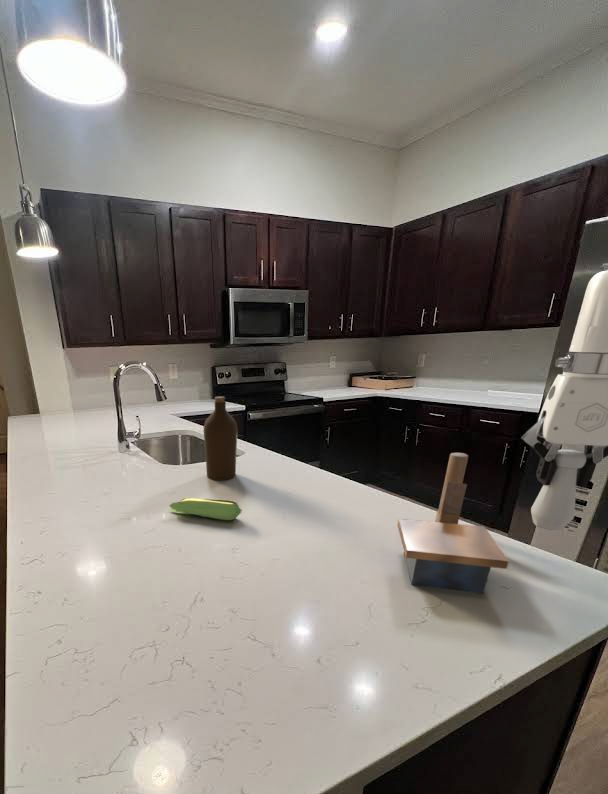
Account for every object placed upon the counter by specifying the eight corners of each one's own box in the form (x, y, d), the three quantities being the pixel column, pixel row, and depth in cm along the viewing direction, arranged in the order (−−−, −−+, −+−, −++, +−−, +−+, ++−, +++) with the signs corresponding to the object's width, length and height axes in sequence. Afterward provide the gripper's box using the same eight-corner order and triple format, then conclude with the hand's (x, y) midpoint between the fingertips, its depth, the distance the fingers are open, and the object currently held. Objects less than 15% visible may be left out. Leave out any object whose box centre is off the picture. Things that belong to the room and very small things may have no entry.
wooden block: (434, 542, 93) (451, 464, 85) (434, 523, 102) (449, 451, 94) (453, 545, 91) (471, 466, 84) (451, 525, 100) (468, 452, 93)
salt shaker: (548, 517, 74) (570, 445, 69) (578, 531, 69) (605, 454, 64) (519, 520, 73) (539, 447, 68) (547, 534, 68) (572, 457, 63)
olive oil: (212, 482, 130) (210, 400, 120) (200, 473, 139) (197, 396, 129) (243, 477, 134) (243, 398, 124) (229, 468, 143) (228, 393, 133)
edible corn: (238, 524, 102) (238, 507, 100) (164, 514, 108) (163, 498, 106) (244, 516, 107) (244, 500, 105) (173, 507, 113) (171, 491, 111)
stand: (475, 559, 86) (484, 526, 83) (497, 598, 73) (508, 561, 70) (392, 550, 90) (398, 518, 87) (400, 586, 77) (407, 550, 74)
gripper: (541, 368, 60) (510, 488, 67) (687, 367, 56) (637, 495, 63) (521, 364, 66) (495, 473, 74) (651, 363, 62) (609, 479, 69)
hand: (561, 482), depth 68 cm, fingers closed on salt shaker, 4 cm apart
